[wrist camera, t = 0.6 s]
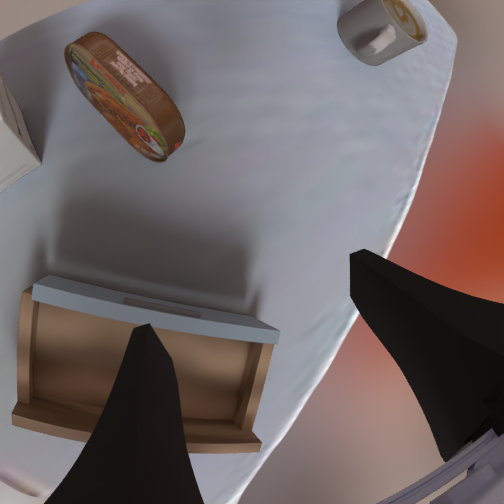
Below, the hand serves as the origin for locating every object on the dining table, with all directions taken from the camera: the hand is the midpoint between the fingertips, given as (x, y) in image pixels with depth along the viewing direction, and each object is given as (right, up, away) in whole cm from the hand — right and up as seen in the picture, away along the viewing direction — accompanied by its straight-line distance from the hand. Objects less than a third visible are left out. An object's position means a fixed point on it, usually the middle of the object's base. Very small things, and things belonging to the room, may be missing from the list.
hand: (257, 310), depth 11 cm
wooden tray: (-11, -9, +19) cm, 24 cm away
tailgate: (-9, -3, +17) cm, 20 cm away
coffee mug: (+16, +34, +29) cm, 48 cm away
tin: (-13, +16, +17) cm, 27 cm away
